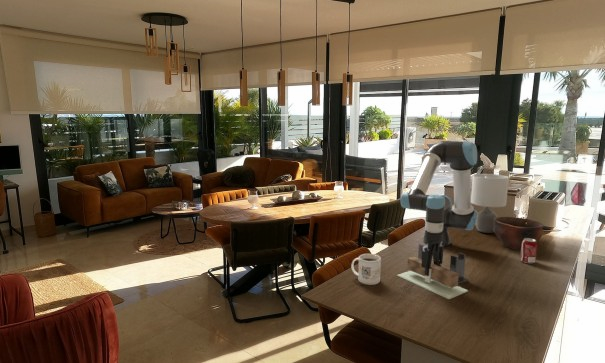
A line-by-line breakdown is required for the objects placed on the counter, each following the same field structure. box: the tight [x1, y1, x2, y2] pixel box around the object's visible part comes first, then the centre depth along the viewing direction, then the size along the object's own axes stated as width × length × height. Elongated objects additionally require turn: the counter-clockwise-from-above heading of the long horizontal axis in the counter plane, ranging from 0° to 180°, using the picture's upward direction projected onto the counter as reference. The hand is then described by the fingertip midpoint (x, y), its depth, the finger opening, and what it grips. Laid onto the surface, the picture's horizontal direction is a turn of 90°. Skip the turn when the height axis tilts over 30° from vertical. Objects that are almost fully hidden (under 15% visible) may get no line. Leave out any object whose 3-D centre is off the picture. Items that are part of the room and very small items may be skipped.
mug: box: [350, 253, 382, 286], centre depth 174 cm, size 10×12×11 cm
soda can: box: [519, 238, 538, 265], centre depth 195 cm, size 7×7×12 cm
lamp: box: [471, 173, 510, 234], centre depth 245 cm, size 21×21×37 cm
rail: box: [407, 255, 459, 288], centre depth 170 cm, size 24×4×6 cm, turn 34°
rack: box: [417, 243, 469, 285], centre depth 181 cm, size 25×7×12 cm, turn 34°
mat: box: [396, 270, 469, 300], centre depth 171 cm, size 28×13×1 cm, turn 34°
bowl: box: [493, 216, 545, 251], centre depth 218 cm, size 25×25×15 cm
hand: (431, 280), depth 171 cm, fingers closed on rail, 4 cm apart
